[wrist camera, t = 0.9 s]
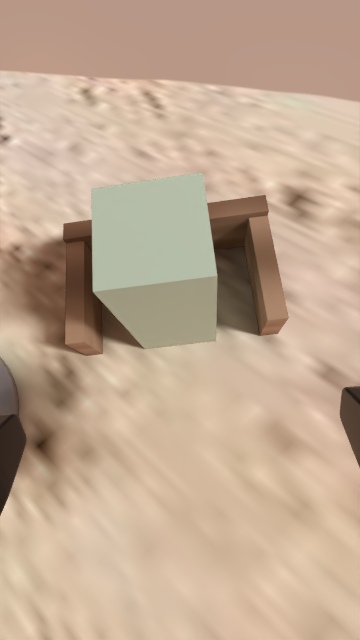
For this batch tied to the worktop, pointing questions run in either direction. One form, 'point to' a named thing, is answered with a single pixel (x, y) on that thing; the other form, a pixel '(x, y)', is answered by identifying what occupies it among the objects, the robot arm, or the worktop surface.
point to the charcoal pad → (7, 391)
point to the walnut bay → (227, 231)
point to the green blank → (156, 259)
